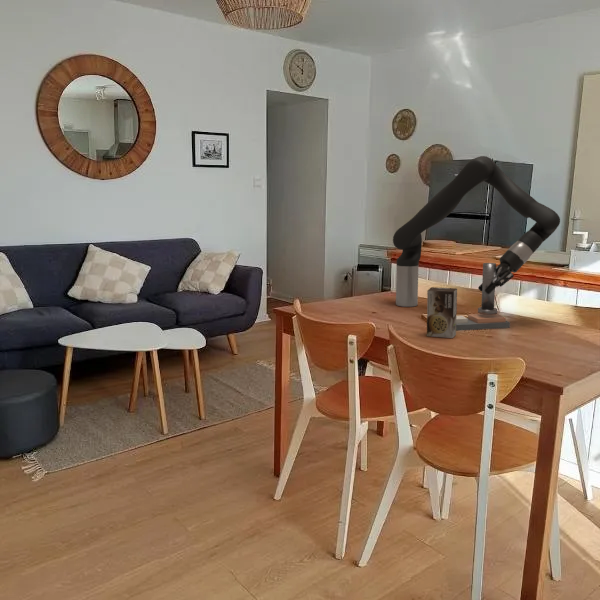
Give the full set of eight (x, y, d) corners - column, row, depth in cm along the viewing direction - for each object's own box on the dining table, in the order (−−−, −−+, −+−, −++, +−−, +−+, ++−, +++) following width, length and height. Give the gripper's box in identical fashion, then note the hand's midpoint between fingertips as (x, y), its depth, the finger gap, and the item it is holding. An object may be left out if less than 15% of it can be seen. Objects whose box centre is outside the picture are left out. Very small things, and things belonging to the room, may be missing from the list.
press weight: (474, 311, 214) (476, 262, 210) (491, 310, 215) (493, 262, 211) (483, 315, 207) (485, 265, 203) (500, 314, 208) (503, 264, 205)
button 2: (467, 319, 214) (468, 314, 214) (494, 318, 216) (495, 313, 216) (477, 324, 207) (478, 319, 206) (505, 323, 208) (505, 317, 208)
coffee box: (456, 334, 200) (458, 288, 196) (452, 338, 194) (454, 291, 191) (429, 331, 203) (431, 286, 200) (425, 336, 198) (427, 289, 194)
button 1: (448, 321, 212) (448, 316, 211) (461, 321, 212) (461, 315, 212) (454, 324, 207) (454, 319, 206) (467, 324, 208) (467, 318, 207)
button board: (440, 324, 214) (440, 319, 214) (496, 321, 217) (496, 316, 217) (451, 330, 204) (451, 325, 204) (509, 327, 208) (510, 322, 207)
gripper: (499, 247, 214) (467, 281, 215) (520, 251, 201) (485, 287, 201) (512, 261, 216) (480, 294, 217) (533, 266, 202) (499, 301, 203)
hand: (483, 291), depth 209 cm, fingers closed on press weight, 4 cm apart
